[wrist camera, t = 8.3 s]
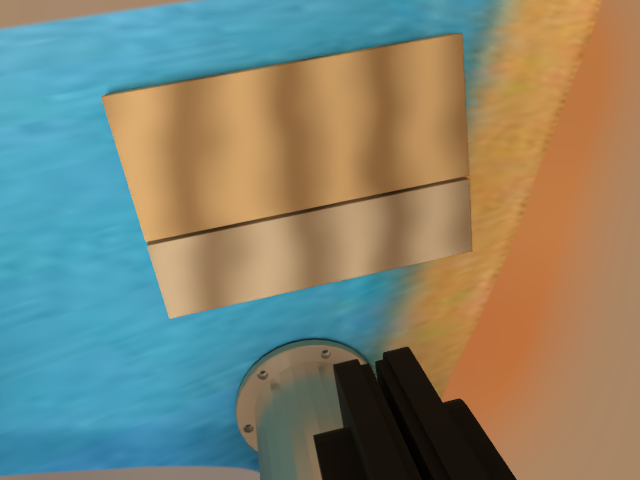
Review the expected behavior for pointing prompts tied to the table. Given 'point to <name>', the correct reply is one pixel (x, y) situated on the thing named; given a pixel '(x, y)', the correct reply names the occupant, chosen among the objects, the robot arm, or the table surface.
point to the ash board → (312, 246)
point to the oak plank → (292, 135)
